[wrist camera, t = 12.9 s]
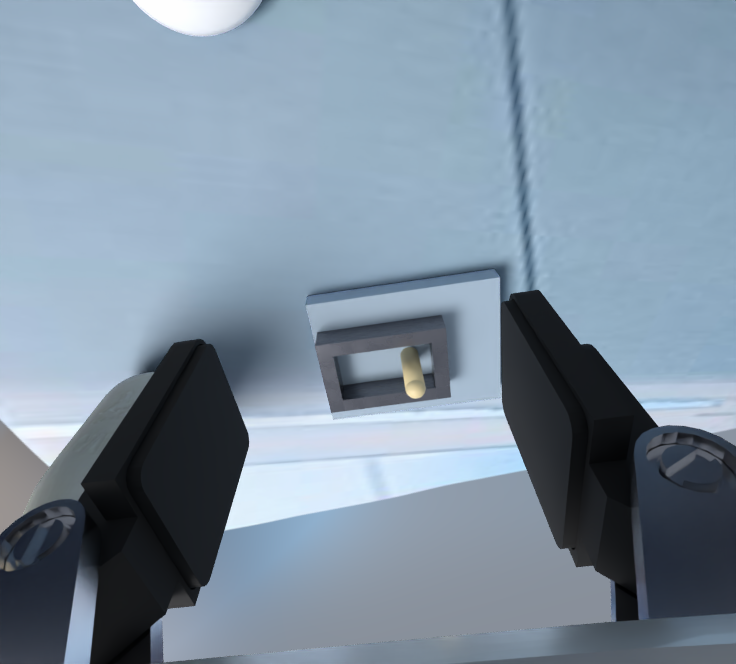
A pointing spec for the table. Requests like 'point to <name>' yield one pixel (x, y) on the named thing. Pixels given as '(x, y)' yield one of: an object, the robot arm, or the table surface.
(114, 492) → the robot arm
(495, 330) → the board
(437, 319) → the steel link
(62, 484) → the tall cream vase
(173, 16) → the flower in vase
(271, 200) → the table surface
